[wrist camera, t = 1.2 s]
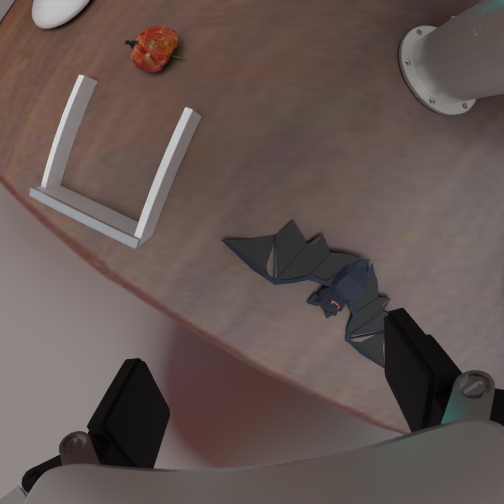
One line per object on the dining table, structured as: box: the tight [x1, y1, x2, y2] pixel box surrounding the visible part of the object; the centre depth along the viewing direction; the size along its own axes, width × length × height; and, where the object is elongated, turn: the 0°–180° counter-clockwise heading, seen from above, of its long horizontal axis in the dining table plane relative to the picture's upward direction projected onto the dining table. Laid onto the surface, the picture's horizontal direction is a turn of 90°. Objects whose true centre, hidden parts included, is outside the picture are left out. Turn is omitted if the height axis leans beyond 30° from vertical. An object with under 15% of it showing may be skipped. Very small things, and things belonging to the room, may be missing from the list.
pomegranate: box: [123, 26, 186, 72], centre depth 28 cm, size 6×6×8 cm
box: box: [29, 75, 202, 249], centre depth 31 cm, size 15×16×6 cm
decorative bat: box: [222, 221, 391, 369], centre depth 36 cm, size 30×4×10 cm
